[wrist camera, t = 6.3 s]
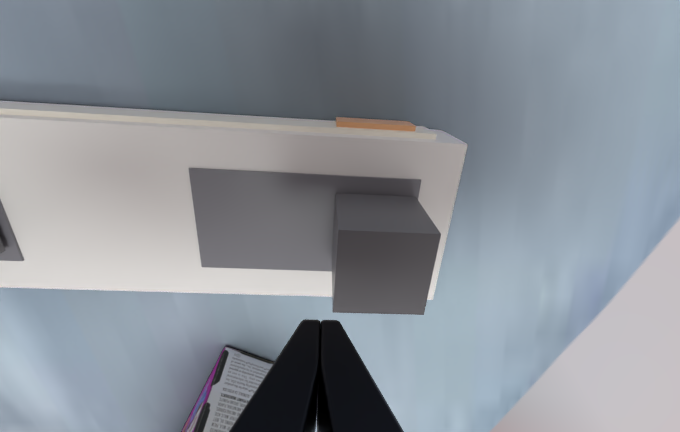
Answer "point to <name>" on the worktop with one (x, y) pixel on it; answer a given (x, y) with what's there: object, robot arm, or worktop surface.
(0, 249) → the inner tab
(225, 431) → the candy bar box
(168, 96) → the worktop surface
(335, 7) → the worktop surface
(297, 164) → the switch bank
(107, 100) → the worktop surface
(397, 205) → the outer tab
